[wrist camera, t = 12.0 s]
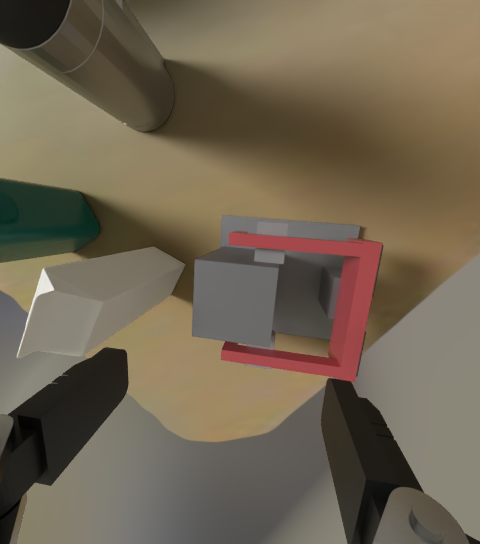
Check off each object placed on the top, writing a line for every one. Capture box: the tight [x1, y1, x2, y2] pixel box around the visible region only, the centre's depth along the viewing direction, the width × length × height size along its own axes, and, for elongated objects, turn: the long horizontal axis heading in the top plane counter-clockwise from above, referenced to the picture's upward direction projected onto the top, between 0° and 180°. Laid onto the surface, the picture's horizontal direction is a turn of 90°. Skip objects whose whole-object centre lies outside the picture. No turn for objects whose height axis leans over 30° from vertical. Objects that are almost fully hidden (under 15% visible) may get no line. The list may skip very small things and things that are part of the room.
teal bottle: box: [0, 178, 100, 263], centre depth 29 cm, size 10×8×22 cm
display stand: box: [192, 215, 360, 369], centre depth 30 cm, size 19×17×14 cm
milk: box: [17, 247, 185, 358], centre depth 28 cm, size 6×6×22 cm
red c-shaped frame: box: [221, 231, 383, 382], centre depth 26 cm, size 14×14×5 cm
